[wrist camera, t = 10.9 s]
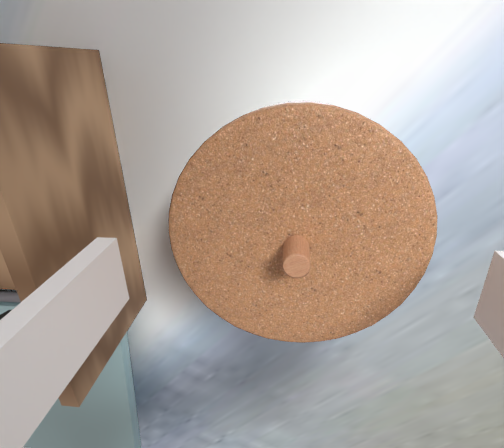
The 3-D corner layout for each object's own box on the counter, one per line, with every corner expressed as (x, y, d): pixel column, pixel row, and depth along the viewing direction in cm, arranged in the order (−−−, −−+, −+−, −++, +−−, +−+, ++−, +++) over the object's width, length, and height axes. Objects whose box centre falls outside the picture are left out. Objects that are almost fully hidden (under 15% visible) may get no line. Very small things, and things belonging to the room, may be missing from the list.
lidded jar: (408, 228, 21) (484, 339, 12) (252, 277, 24) (229, 394, 15) (355, 52, 17) (414, 41, 9) (178, 136, 20) (94, 189, 12)
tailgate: (-138, 286, 26) (-84, 435, 31) (115, 301, 24) (136, 459, 28) (-123, 281, 27) (-73, 425, 32) (122, 295, 25) (141, 449, 29)
